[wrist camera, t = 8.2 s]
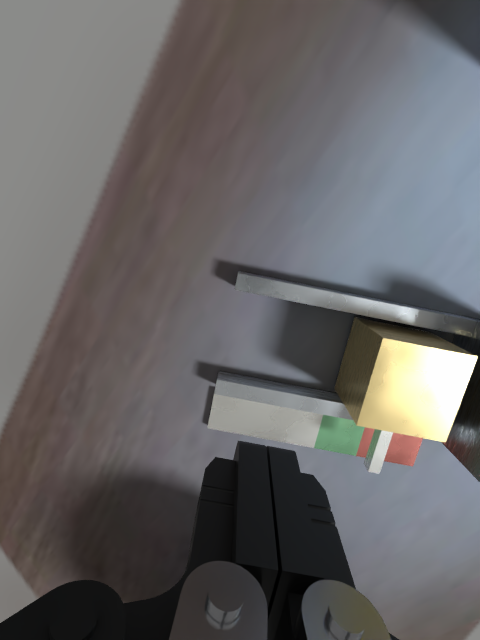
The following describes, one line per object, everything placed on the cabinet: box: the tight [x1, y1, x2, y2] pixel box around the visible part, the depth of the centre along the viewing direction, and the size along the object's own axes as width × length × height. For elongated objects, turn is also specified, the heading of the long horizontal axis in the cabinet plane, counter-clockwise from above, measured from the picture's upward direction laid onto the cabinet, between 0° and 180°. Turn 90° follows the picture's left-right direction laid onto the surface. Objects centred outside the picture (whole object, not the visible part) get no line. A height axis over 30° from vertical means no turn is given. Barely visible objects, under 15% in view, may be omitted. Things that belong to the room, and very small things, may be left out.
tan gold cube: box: [334, 317, 477, 474], centre depth 21 cm, size 8×5×5 cm, turn 169°
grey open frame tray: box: [207, 271, 480, 482], centre depth 21 cm, size 11×17×6 cm, turn 79°
